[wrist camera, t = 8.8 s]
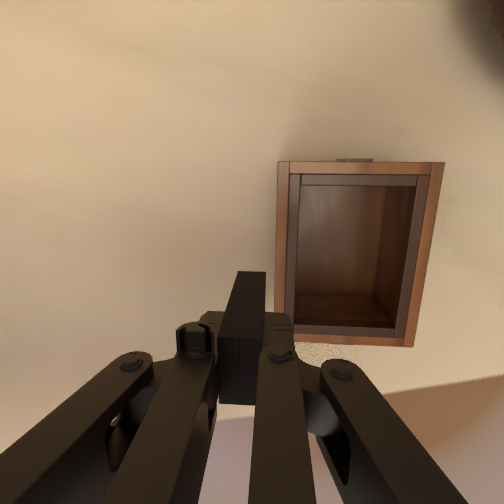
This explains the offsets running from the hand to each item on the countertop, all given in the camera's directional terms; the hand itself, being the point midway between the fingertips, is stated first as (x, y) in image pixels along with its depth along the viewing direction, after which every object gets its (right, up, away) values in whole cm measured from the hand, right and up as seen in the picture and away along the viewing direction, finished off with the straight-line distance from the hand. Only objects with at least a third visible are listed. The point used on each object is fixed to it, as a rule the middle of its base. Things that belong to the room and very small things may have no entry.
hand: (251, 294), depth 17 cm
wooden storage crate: (+2, +3, +11) cm, 11 cm away
